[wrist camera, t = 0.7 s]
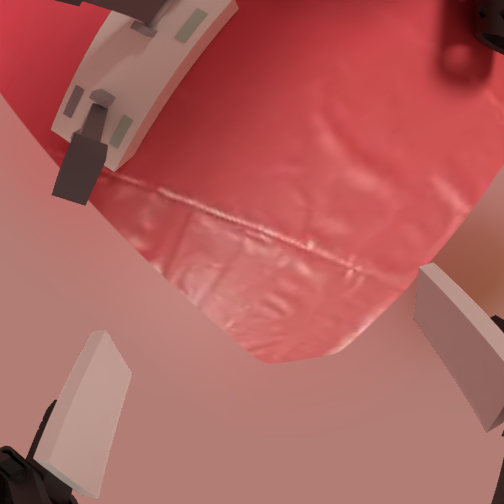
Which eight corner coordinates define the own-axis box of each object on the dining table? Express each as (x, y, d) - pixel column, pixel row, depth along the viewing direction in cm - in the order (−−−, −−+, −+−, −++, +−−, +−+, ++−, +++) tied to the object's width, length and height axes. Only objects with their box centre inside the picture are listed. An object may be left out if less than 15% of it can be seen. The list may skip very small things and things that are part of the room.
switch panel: (239, 9, 26) (232, -7, 19) (133, 155, 36) (106, 178, 29) (168, -29, 22) (145, -48, 16) (76, 118, 32) (40, 134, 26)
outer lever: (115, 107, 26) (105, 160, 19) (97, 142, 28) (85, 205, 21) (89, 97, 24) (69, 147, 18) (72, 133, 26) (51, 195, 20)
